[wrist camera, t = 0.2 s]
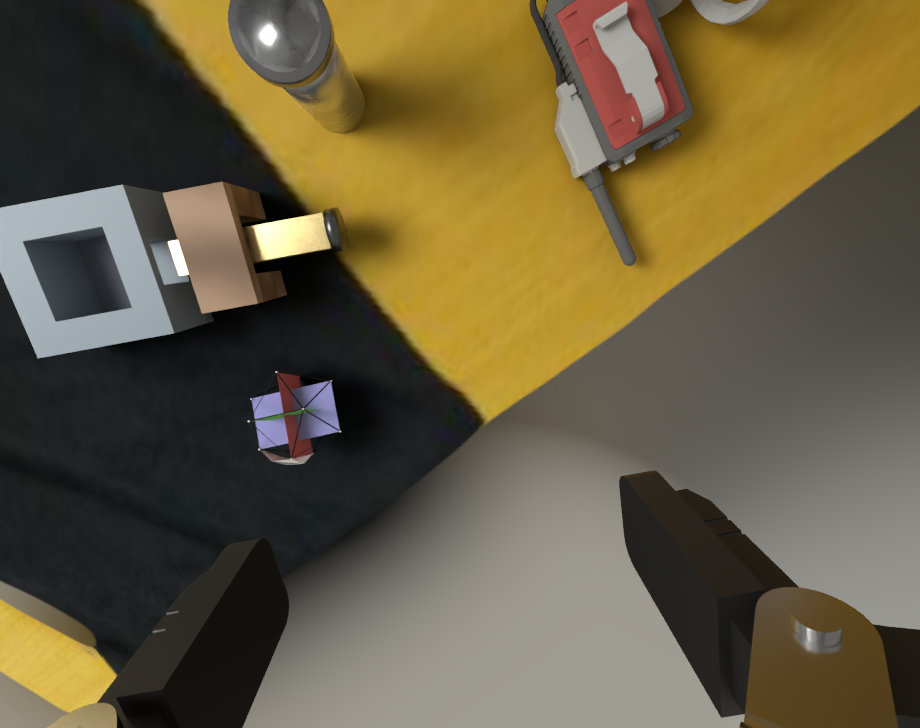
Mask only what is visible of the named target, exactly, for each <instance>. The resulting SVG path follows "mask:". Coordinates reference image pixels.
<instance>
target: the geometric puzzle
mask: <svg viewBox="0 0 920 728" xmlns="http://www.w3.org/2000/svg"><path fill="white" fill-rule="evenodd" d="M276 373H277V378H278V384H279V386H277V387H279V390H280V392H278V393H274V394H270V395H265V396H264V395H263V396H261V397H257V396H259V395H257V396H255V395H256V394H257V393H258V392H259V391H258V392H257V393H256V394H255V395H254V396H255V397H256V398H255V397H254V396H253V397H252V398H251V399H250V400H252V406H253V414H254V420H250V419H251V418H250V419H249V420H248V422H250V421H255V425H256V427H255V426H254V425H253V424H252V423H251V422H250V423H251V424H252V425H253V426H254V427H255V428H256V431H257V437H258V443H259V446H258V447H259V450H261V451H262V452H263V453H264V454H265V455H266V456H267V457H268V459H269V460H270V461H272V462H277V463H281V464H284V465H294V464H300V463H301V464H304V463H305V462H306V461H307V460H308V459H309V458H310V456H311V455H313V454H314V453H315V452H316V451H317V450H316V451H315V449H316V447H317V445H318V444H319V441H320V439H321V437H322V435H326V434H331V433H335V432H337V433H336V435H337V434H338V433H339V432H341V430H340V426H339V420H338V415H337V410H336V404H335V399H334V393H333V388H332V383H331V382H332V380H326V381H327V382H323V383H318V384H314V385H308V384H307V383H306V382H305V381H304V380H303V379H302V378H301V376H300V375H293V374H286V373H280V372H278V371H276ZM276 373H275V374H274V375H273V376H275V375H276ZM273 376H272V377H273ZM272 377H271V378H272ZM302 377H304V378H312V377H305V376H302ZM271 378H270V379H271ZM273 378H274V377H273ZM299 378H300V379H302V380H303V381H304V382H305V383H306V384H307V385H308V386H305V387H301V384H300V379H299ZM270 379H269V380H270ZM312 379H318V378H312ZM269 380H268V381H269ZM272 380H273V379H272ZM272 380H271V382H272ZM319 380H324V379H319ZM268 381H267V382H268ZM271 382H270V384H271ZM270 384H269V385H270ZM268 387H269V386H268ZM274 388H276V387H274ZM274 388H272V389H274ZM267 389H268V388H267ZM267 389H266V391H265V392H264V393H262V394H265V393H266V392H268V391H270V390H272V389H270V390H268V391H267ZM262 394H260V395H262ZM250 408H251V405H250ZM253 414H252V416H253ZM252 416H251V417H252ZM249 417H250V414H249ZM250 423H249V424H250ZM250 426H251V425H250ZM251 429H252V428H251ZM252 431H253V430H252ZM253 434H254V433H253ZM334 435H335V434H334ZM317 436H321V437H320V439H319V441H318V443H317V444H316V445H314V446H316V447H315V449H314V451H315V452H314V451H313V452H312V447H311V441H310V438H313V437H317ZM332 436H333V435H332ZM332 436H330V437H332ZM330 437H329V438H330ZM332 438H333V437H332ZM332 438H331V439H332ZM255 439H256V438H255ZM327 439H328V438H327ZM331 439H330V440H331ZM325 440H326V439H325ZM323 441H324V440H323ZM323 441H322V442H323ZM258 443H257V444H258ZM286 443H289V448H290V451H282V450H281V449H280V448H279V447H278V446H277V445H281V444H286ZM320 443H321V442H320ZM326 443H327V442H326ZM326 443H325V444H326ZM272 446H277V447H278V448H279V449H280V450H281V451H282V452H284V453H285V452H290V454H291V457H289V456H288V455H287V454H286V453H285V454H286V455H287V456H288V457H289V458H287V457H286V458H284V456H283V457H281V455H280V456H278V455H277V454H276V455H275V454H274V453H273V454H272V453H271V452H270V453H269V452H268V451H267V452H266V451H264V450H267V449H263V448H268V447H272ZM314 446H313V447H314ZM321 447H322V446H321ZM321 447H320V448H321ZM272 451H279V450H272Z"/></svg>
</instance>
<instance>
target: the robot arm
mask: <svg viewBox="0 0 920 728" xmlns="http://www.w3.org/2000/svg"><path fill="white" fill-rule="evenodd" d="M619 486H620V497H621V508H622V518H623V528H624V537H625V543H626V547H627V551H628V554H629V557H630V559H631V562H632V564H633V566H634V568H635V569H636V571H637V573H638V574H639V576H640V578H641V580H642V581H643V583H644V585H645V587H646V588H647V590H648V592H649V593H650V595H651V597H652V599H653V601H654V602H655V604H656V606H657V607H658V609H659V610H660V613H661V614H662V616H663V618H664V619H665V621H666V623H667V625H668V626H669V628H670V630H671V632H672V633H673V635H674V637H675V638H676V640H677V642H678V644H679V645H680V647H681V649H682V651H683V652H684V654H685V656H686V658H687V659H688V661H689V663H690V664H691V666H692V668H693V670H694V671H695V673H696V675H697V676H698V678H699V680H700V682H701V683H702V685H703V687H704V688H705V690H706V692H707V694H708V695H709V697H710V699H711V701H712V702H713V704H714V706H715V708H716V709H717V711H718V713H719V715H720V716H721V717H728V716H734V715H740V714H745V719H744V723H743V722H741V723H740V728H920V630H916V629H905V628H896V627H887V626H880V625H874V624H872V623H871V622H870V621H869V620H868V619H867V618H866V617H865V616H864V615H862V614H861V613H860V612H858V611H857V610H856V609H854V608H853V607H851V606H850V605H848V604H846V603H845V602H843V601H841V600H839V599H837V598H834V597H832V596H830V595H827V594H824V593H821V592H818V591H815V590H810V589H805V588H799V587H798V586H797V585H796V584H795V583H794V582H793V581H792V580H791V579H790V578H789V577H788V576H787V575H786V574H785V573H784V572H783V571H782V570H781V569H780V568H779V567H778V566H777V565H776V564H775V563H774V562H773V561H771V559H770V558H769V557H767V556H766V555H765V554H764V553H763V552H762V551H761V550H760V549H759V548H758V547H757V546H756V545H755V544H754V543H753V542H752V541H751V540H750V539H749V538H748V537H747V536H746V535H745V534H742V533H741V530H740V529H739V528H738V527H737V526H736V525H735V524H734V523H733V522H732V521H730V520H728V519H727V517H726V516H725V515H724V514H723V513H722V512H721V511H720V510H719V509H718V508H717V507H716V506H715V505H714V504H713V503H712V502H711V501H710V500H708V499H706V498H704V497H702V496H700V495H698V494H696V493H694V492H692V491H690V490H688V489H684V490H678V491H675V490H674V489H673V488H672V487H671V486H670V485H669V484H668V482H667V481H666V480H665V479H664V478H663V477H662V476H661V475H660V474H659V473H658V472H657V471H649V472H642V473H637V474H631V475H625V476H621V477H620V481H619ZM166 613H167V614H166V616H163V617H162V618H161V620H160V621H159V622H158V624H157V625H156V626H155V628H154V629H153V633H152V634H151V635H148V637H147V638H146V639H145V641H144V642H143V643H142V645H141V646H140V647H139V649H138V650H137V651H136V652H135V654H134V655H133V656H132V658H131V659H130V660H129V662H128V663H127V664H126V666H125V667H124V668H123V669H122V671H121V672H120V673H119V675H118V676H117V677H116V679H115V680H114V681H113V683H112V684H111V685H110V686H109V688H108V689H107V690H106V692H105V693H104V694H103V696H102V697H101V698H100V700H99V701H98V702H97V703H95V704H90V705H87V706H84V707H81V708H79V709H77V710H74V711H72V712H70V713H68V714H67V715H65V716H63V717H61V718H60V719H58V720H57V721H55V722H53V723H52V724H51V725H49V726H48V727H46V728H242V727H243V725H244V722H245V720H246V718H247V715H248V713H249V711H250V708H251V706H252V703H253V701H254V699H255V696H256V694H257V692H258V689H259V687H260V685H261V682H262V680H263V678H264V675H265V673H266V671H267V668H268V666H269V663H270V661H271V659H272V656H273V654H274V652H275V649H276V647H277V645H278V642H279V640H280V637H281V635H282V633H283V631H284V628H285V626H286V623H287V619H288V613H289V599H288V594H287V590H286V587H285V584H284V581H283V578H282V576H281V573H280V570H279V567H278V564H277V561H276V558H275V555H274V552H273V549H272V546H271V544H270V542H269V541H268V540H267V539H265V538H260V539H254V540H248V541H243V542H237V543H231V544H229V545H228V546H226V548H225V549H224V550H223V551H222V553H221V554H220V556H219V557H218V558H217V560H216V561H215V562H214V564H213V565H212V566H211V568H210V569H209V571H206V572H204V573H203V574H202V575H201V576H200V577H198V578H197V579H196V580H195V581H194V582H192V583H191V584H190V585H189V586H188V587H187V588H185V589H184V590H183V591H182V592H181V594H180V595H179V596H178V598H177V599H176V600H175V601H174V603H173V604H172V605H171V607H170V608H169V609H168V611H167V612H166Z"/></svg>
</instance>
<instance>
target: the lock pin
mask: <svg viewBox="0 0 920 728" xmlns="http://www.w3.org/2000/svg"><path fill="white" fill-rule="evenodd" d="M243 232H244V235H245V239H246V242H247V245H248V249H249V252H250V256H251V259H252V263H253V264H255V263H261V262H266V261H271V260H277V259H282V258H288V257H293V256H298V255H304V254H309V253H315V252H320V251H325V250H331V249H333V250H334V251H335V252H339V251H345V250H348V236H347V231H346V227H345V223H344V220H343V217H342V215H341V213H340V211H339V209H338V208H331V209H326V210H324V212H323V213H318V214H313V215H307V216H302V217H296V218H291V219H286V220H280V221H275V222H270V223H264V224H259V225H254V226H248V227H243ZM168 244H169V247H170V250H171V253H172V256H173V259H174V262H175V265H176V268H177V271H178V274H179V276H185V275H189V273H188V270H187V267H186V264H185V261H184V258H183V254H182V251H181V248H180V245H179V242H178V240H174V241H168Z"/></svg>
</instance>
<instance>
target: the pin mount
mask: <svg viewBox="0 0 920 728" xmlns="http://www.w3.org/2000/svg"><path fill="white" fill-rule="evenodd" d="M163 197H164V200H165V203H166V206H167V209H168V212H169V215H170V218H171V221H172V224H173V227H174V230H175V233H176V236H177V239H178V242H179V245H180V248H181V251H182V254H183V258H184V261H185V264H186V267H187V270H188V273H189V276H190V279H191V282H192V285H193V288H194V291H195V294H196V297H197V300H198V303H199V306H200V309H201V312H202V314H203V313H209V312H214V311H220V310H225V309H231V308H236V307H242V306H247V305H252V304H258V303H261V302H265V301H268V300H272V299H275V298H279V297H282V296H285V295H287V292H286V289H285V285H284V281H283V278H282V274H281V270H280V271H273V272H265V273H257V274H256V273H255V270H254V266H253V263H252V259H251V256H250V252H249V249H248V245H247V242H246V239H245V235H244V232H243V228H242V225H241V224H244V223H249V222H254V221H260V220H265V219H266V216H265V212H264V209H263V205H262V202H261V198H260V194H259V192H255V191H252V190H249V189H245V188H242V187H238V186H235V185H232V184H228V183H225V182H218V183H213V184H208V185H203V186H197V187H192V188H187V189H181V190H176V191H171V192H166V193H163Z"/></svg>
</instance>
